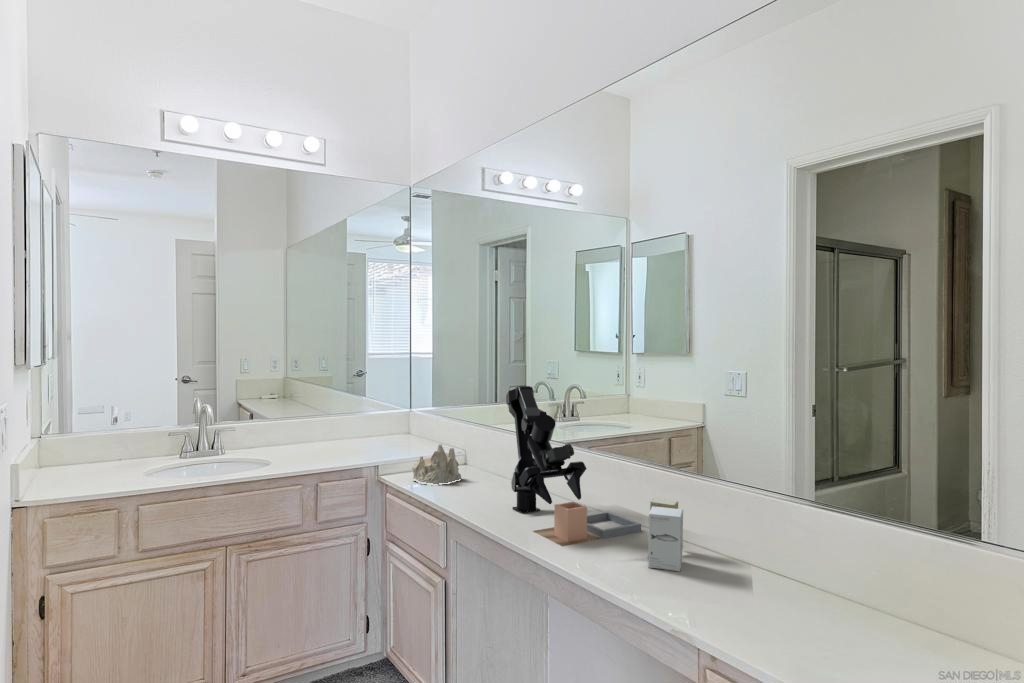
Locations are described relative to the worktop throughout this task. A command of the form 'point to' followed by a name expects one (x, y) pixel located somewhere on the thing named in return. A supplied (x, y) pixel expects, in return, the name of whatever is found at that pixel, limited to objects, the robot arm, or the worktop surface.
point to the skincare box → (663, 503)
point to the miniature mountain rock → (437, 467)
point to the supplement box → (665, 538)
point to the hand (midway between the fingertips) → (565, 501)
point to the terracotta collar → (570, 521)
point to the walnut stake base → (550, 535)
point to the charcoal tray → (627, 528)
